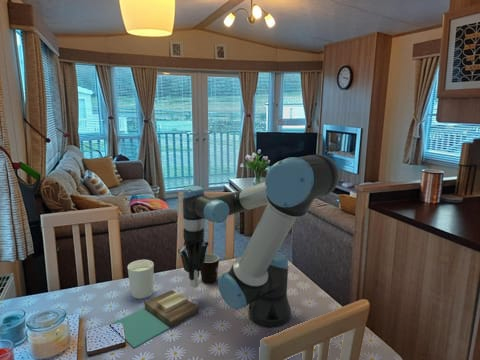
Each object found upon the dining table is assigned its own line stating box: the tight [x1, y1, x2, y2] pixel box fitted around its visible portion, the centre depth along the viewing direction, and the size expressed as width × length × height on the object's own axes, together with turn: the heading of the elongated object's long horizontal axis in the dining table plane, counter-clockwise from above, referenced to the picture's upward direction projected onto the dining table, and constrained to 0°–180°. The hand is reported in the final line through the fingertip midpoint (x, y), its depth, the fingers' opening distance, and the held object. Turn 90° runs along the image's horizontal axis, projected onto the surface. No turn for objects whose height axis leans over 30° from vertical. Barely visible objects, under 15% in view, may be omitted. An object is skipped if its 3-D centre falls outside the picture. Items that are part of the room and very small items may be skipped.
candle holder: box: [127, 259, 155, 300], centre depth 132 cm, size 10×10×12 cm
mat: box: [108, 307, 171, 349], centre depth 113 cm, size 16×13×1 cm
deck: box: [143, 289, 199, 329], centre depth 122 cm, size 16×12×2 cm
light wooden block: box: [157, 291, 188, 312], centre depth 122 cm, size 6×9×2 cm, turn 137°
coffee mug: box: [200, 253, 220, 285], centre depth 144 cm, size 12×9×10 cm
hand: (194, 286), depth 129 cm, fingers closed
